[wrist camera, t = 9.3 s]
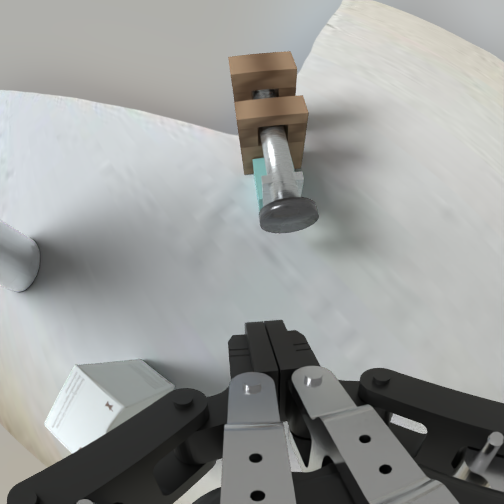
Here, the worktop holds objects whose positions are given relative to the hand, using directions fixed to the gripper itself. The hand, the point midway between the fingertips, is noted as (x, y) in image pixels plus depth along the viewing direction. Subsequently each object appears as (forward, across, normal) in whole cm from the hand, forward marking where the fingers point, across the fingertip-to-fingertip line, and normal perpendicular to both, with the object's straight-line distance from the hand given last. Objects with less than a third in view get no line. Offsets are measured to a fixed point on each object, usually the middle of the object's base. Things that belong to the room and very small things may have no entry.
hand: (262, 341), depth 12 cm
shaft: (+31, -6, -7) cm, 33 cm away
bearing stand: (+36, -6, -12) cm, 38 cm away
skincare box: (+19, +13, +19) cm, 30 cm away
